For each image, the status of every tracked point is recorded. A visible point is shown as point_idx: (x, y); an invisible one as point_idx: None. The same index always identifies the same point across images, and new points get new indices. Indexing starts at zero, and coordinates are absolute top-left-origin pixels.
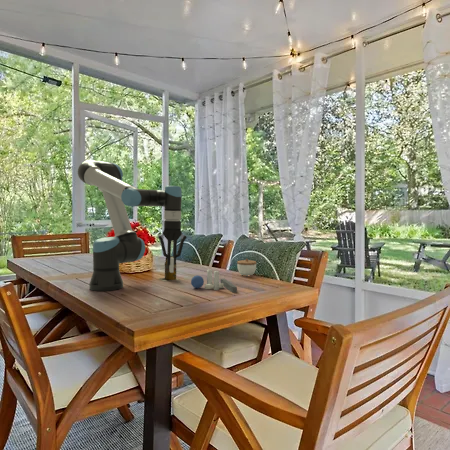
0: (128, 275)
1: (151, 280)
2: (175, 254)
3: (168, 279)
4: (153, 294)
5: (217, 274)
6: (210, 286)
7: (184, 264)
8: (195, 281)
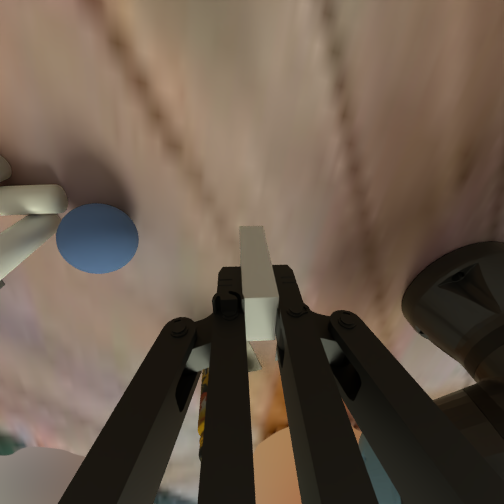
0: None
1: None
2: (224, 336)
3: None
4: (343, 138)
5: None
6: (23, 187)
7: (170, 475)
8: (105, 215)
